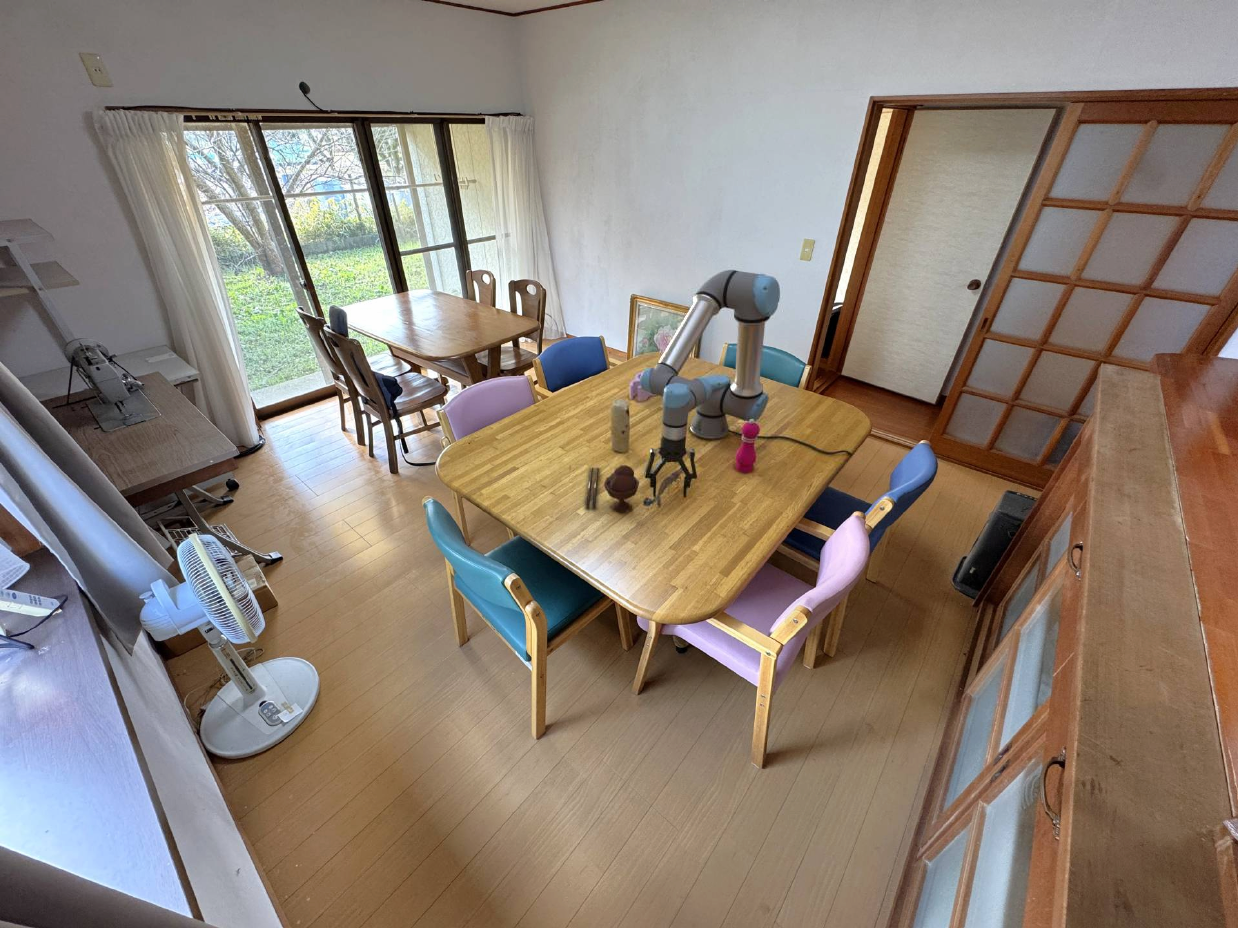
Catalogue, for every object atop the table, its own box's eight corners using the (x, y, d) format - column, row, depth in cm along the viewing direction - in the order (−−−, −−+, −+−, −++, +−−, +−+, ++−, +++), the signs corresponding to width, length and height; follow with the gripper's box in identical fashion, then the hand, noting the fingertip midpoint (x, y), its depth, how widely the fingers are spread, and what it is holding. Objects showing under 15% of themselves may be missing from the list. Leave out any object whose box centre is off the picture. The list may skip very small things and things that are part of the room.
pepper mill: (742, 475, 170) (751, 426, 159) (729, 465, 175) (737, 417, 164) (758, 470, 173) (768, 421, 162) (745, 460, 178) (753, 412, 167)
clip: (646, 403, 217) (646, 389, 213) (622, 397, 223) (622, 383, 219) (666, 387, 231) (667, 374, 227) (644, 381, 237) (644, 368, 233)
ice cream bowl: (603, 497, 160) (602, 460, 151) (636, 496, 160) (637, 458, 152) (605, 518, 151) (604, 479, 142) (640, 516, 152) (641, 477, 143)
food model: (633, 452, 183) (634, 405, 172) (617, 456, 181) (616, 408, 170) (623, 440, 190) (623, 394, 179) (607, 443, 188) (606, 397, 177)
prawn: (672, 473, 168) (672, 455, 164) (701, 482, 162) (702, 465, 158) (630, 508, 151) (630, 490, 147) (662, 521, 145) (662, 502, 141)
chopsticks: (598, 469, 174) (598, 467, 173) (595, 509, 155) (594, 507, 154) (590, 469, 174) (590, 467, 173) (586, 509, 155) (585, 507, 154)
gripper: (708, 429, 147) (701, 488, 159) (637, 428, 147) (635, 487, 159) (712, 441, 140) (704, 502, 153) (637, 440, 141) (635, 501, 153)
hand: (669, 494), depth 156 cm, fingers closed on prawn, 9 cm apart
